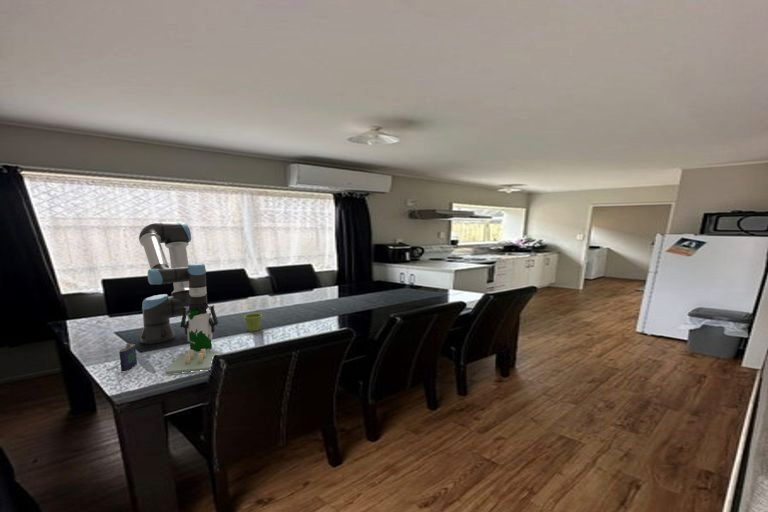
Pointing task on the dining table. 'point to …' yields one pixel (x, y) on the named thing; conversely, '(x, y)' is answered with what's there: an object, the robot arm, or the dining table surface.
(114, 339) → the dining table surface
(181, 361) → the peg stand
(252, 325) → the plant pot
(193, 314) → the soya milk
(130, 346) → the flask
